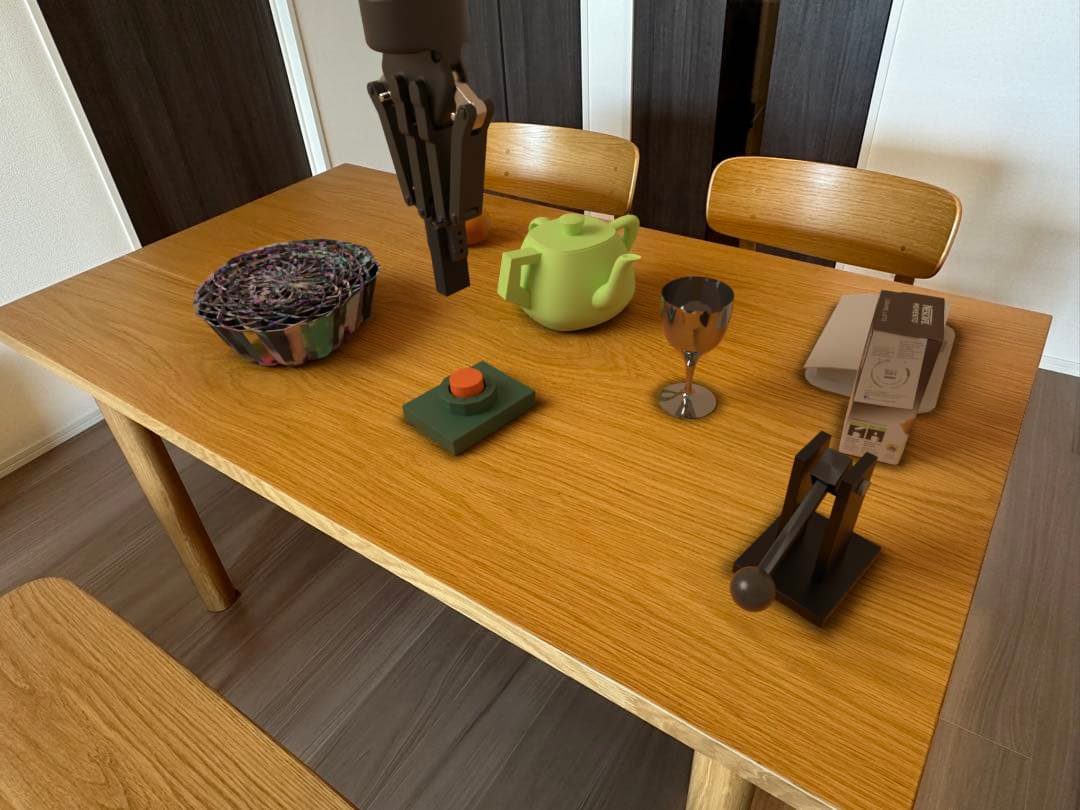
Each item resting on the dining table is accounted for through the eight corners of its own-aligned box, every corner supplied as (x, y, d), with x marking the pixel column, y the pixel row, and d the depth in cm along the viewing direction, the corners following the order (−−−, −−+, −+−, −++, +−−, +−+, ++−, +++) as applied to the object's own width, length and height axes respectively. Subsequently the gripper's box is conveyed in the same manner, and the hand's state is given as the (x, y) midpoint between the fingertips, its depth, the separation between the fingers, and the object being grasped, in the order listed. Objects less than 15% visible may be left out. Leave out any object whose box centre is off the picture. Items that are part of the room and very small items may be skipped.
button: (465, 403, 82) (463, 391, 81) (444, 389, 84) (442, 378, 83) (490, 388, 84) (489, 376, 83) (469, 375, 86) (468, 363, 85)
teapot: (528, 275, 114) (522, 190, 105) (650, 283, 110) (655, 194, 101) (498, 336, 100) (488, 243, 91) (637, 347, 96) (641, 251, 87)
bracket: (820, 629, 60) (857, 520, 51) (731, 571, 65) (751, 464, 57) (878, 556, 66) (920, 447, 57) (792, 508, 71) (819, 402, 63)
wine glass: (662, 376, 90) (669, 272, 81) (724, 387, 88) (739, 281, 78) (647, 413, 84) (653, 305, 75) (713, 426, 82) (728, 316, 73)
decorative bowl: (410, 296, 114) (401, 238, 109) (351, 385, 92) (336, 317, 86) (264, 293, 117) (248, 237, 112) (172, 379, 95) (146, 313, 89)
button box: (455, 456, 80) (450, 429, 78) (404, 419, 86) (399, 393, 83) (536, 404, 87) (534, 378, 84) (484, 373, 93) (481, 348, 90)
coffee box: (900, 467, 75) (945, 342, 65) (837, 453, 77) (872, 330, 67) (904, 417, 81) (946, 296, 71) (846, 405, 84) (879, 286, 74)
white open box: (957, 326, 96) (967, 301, 93) (931, 419, 81) (941, 392, 78) (842, 301, 103) (848, 277, 100) (798, 382, 88) (804, 357, 85)
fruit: (505, 216, 125) (476, 183, 120) (486, 250, 121) (455, 218, 117) (476, 227, 131) (447, 196, 126) (456, 260, 127) (426, 230, 123)
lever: (762, 626, 56) (756, 615, 53) (725, 600, 58) (717, 588, 55) (861, 477, 59) (861, 459, 56) (822, 457, 61) (819, 439, 58)
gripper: (515, -21, 46) (534, 296, 60) (400, -30, 53) (441, 253, 68) (424, -5, 42) (467, 330, 56) (314, -17, 49) (377, 281, 64)
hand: (453, 288), depth 62 cm, fingers closed
